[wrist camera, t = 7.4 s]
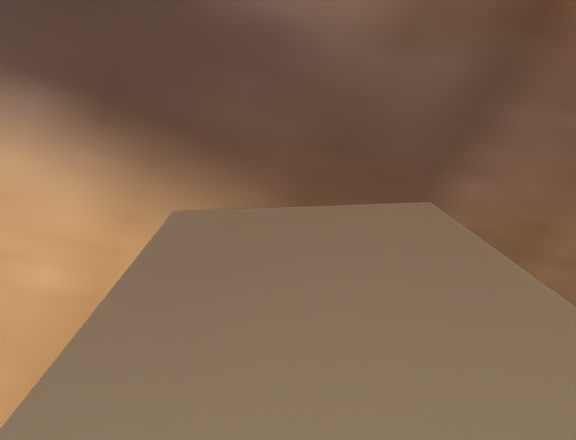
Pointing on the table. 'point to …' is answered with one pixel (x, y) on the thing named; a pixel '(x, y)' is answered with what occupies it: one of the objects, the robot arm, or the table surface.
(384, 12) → the table surface
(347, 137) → the table surface
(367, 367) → the beige cube
